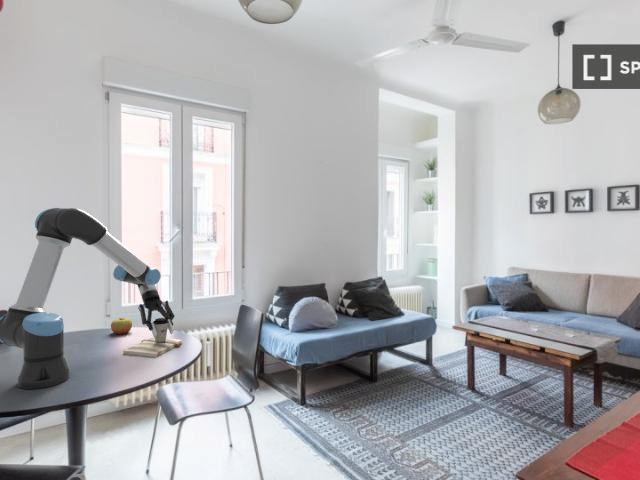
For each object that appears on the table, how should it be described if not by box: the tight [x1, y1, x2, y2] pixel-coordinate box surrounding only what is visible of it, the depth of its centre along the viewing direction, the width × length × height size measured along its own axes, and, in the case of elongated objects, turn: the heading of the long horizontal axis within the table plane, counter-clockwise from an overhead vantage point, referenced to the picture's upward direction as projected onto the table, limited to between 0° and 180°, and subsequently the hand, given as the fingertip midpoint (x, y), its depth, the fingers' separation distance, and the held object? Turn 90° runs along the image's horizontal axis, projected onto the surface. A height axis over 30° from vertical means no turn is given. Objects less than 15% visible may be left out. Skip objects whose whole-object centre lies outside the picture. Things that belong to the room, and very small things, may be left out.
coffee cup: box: [152, 317, 169, 342], centre depth 179 cm, size 7×7×10 cm
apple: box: [110, 317, 133, 335], centre depth 197 cm, size 10×10×8 cm
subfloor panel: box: [122, 336, 183, 358], centre depth 174 cm, size 20×19×2 cm
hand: (163, 333), depth 176 cm, fingers open, 7 cm apart
